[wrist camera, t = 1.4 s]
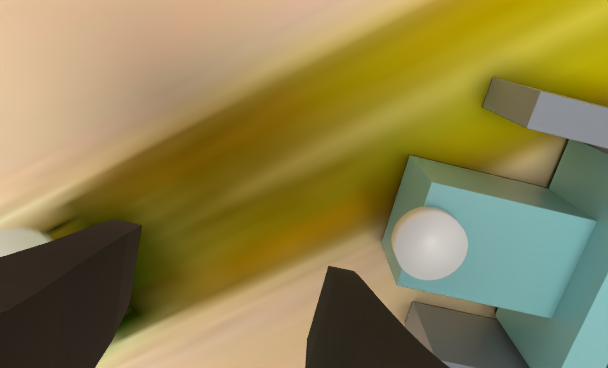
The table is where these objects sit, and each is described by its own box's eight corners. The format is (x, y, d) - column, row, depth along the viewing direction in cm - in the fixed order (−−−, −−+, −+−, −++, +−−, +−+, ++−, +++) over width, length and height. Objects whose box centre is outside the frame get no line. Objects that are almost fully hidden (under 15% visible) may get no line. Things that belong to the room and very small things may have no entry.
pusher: (526, 321, 22) (587, 403, 18) (350, 284, 22) (364, 357, 17) (604, 146, 20) (700, 185, 15) (408, 97, 19) (444, 122, 14)
